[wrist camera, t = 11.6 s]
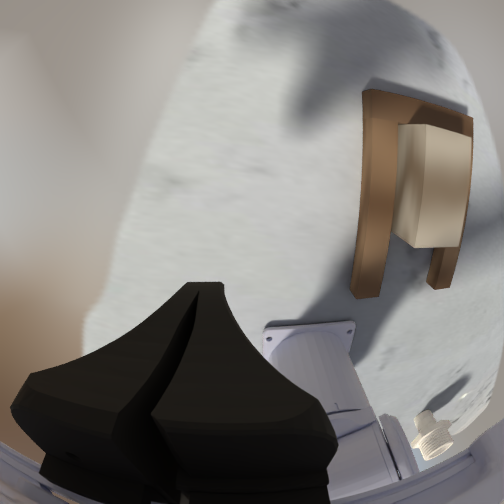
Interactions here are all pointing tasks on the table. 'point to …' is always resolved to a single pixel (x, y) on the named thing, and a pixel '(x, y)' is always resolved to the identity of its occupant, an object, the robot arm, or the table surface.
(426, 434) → the pipe fitting
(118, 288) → the table surface
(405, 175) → the beige rectangular block
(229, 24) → the table surface
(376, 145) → the brown frame section
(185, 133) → the table surface
